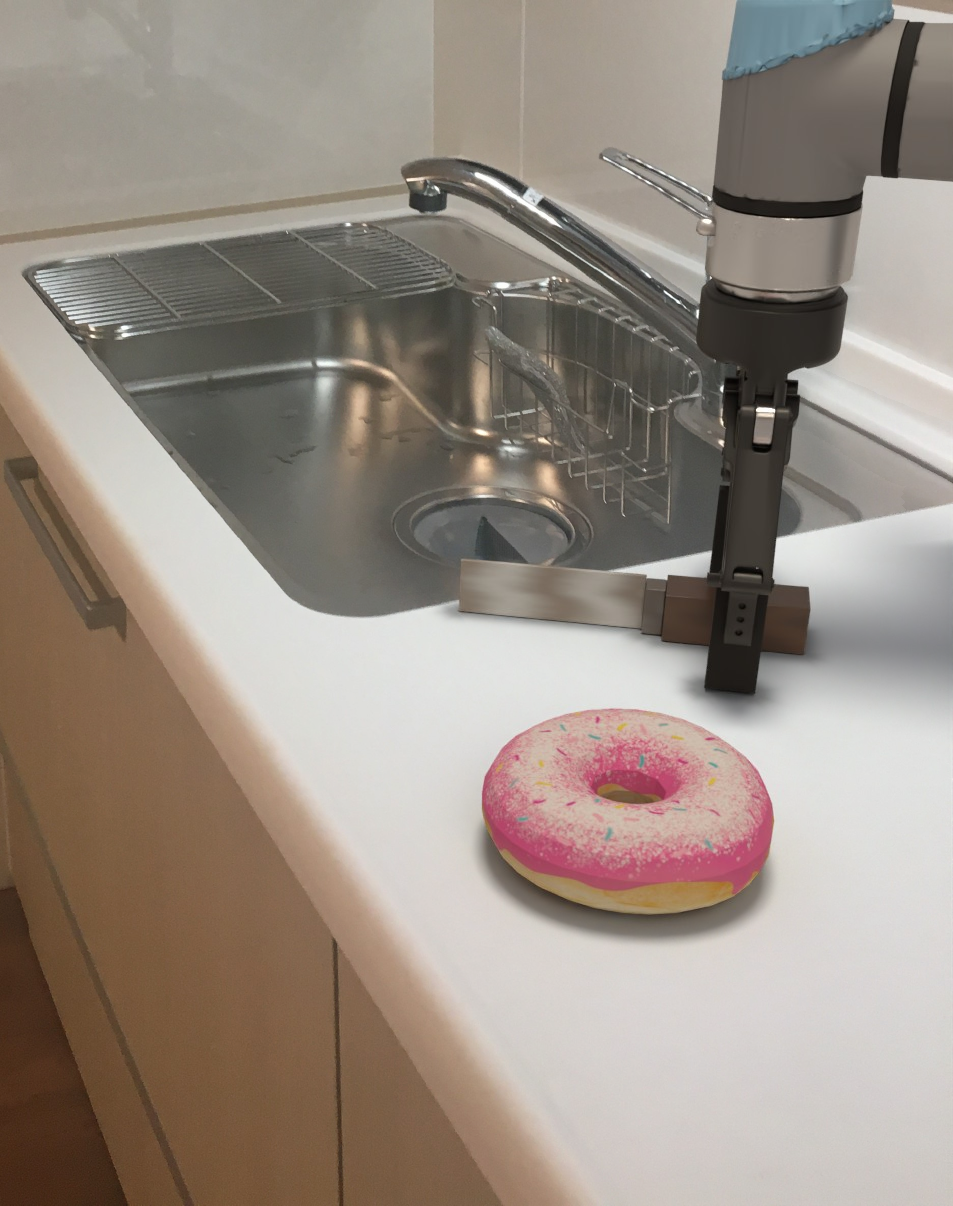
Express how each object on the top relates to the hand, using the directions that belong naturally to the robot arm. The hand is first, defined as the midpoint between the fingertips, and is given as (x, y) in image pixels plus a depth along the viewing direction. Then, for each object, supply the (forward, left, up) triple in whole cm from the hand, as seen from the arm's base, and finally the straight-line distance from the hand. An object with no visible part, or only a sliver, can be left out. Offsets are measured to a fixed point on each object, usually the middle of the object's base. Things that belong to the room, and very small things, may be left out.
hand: (730, 633), depth 98 cm
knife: (+6, 0, 0) cm, 6 cm away
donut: (+5, +24, 0) cm, 24 cm away
